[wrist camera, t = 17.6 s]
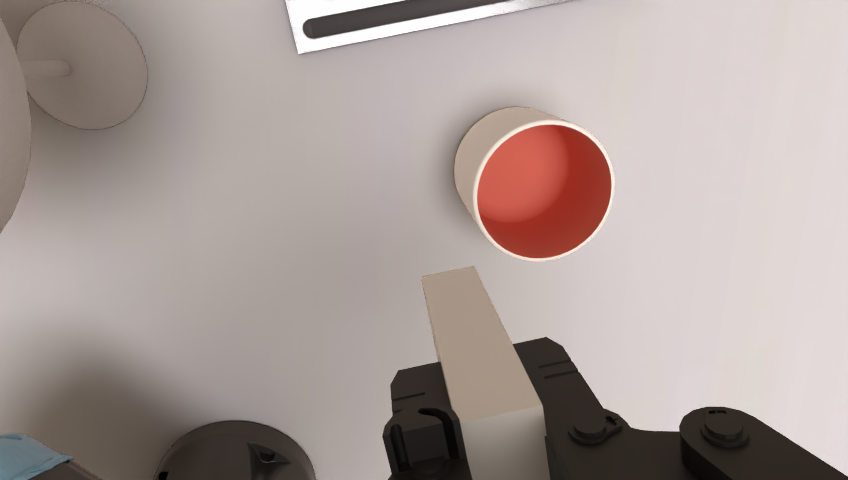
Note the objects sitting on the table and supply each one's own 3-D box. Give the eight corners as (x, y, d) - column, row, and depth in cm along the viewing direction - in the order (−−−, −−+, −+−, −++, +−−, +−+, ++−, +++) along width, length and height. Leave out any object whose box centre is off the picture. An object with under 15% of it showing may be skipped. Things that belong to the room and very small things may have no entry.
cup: (518, 79, 46) (557, 87, 37) (590, 168, 49) (643, 197, 40) (427, 162, 48) (442, 190, 38) (501, 244, 51) (533, 289, 41)
